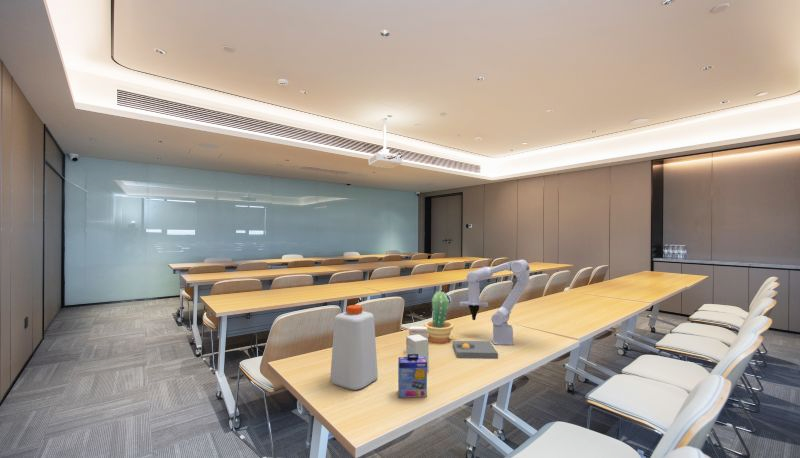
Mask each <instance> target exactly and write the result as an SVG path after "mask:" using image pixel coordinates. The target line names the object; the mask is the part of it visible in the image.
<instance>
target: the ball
mask: <svg viewBox="0 0 800 458" xmlns="http://www.w3.org/2000/svg"><path fill="white" fill-rule="evenodd" d="M462 348H470V346H469V344H467V343H464V344H463V345H462Z"/></svg>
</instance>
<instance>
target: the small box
mask: <svg viewBox="0 0 800 458" xmlns="http://www.w3.org/2000/svg"><path fill="white" fill-rule="evenodd" d="M405 338H406V339H405V340H406V341H405V344H406V347H405V351H406V352H405V354H406V355H405V357H408V354H418V356H425V358H426V360H427V373H428V372H429V339H427V338H425V337H423V336H421V335H419V334H417V335H410V336H409V335H406V337H405ZM409 357H414V355H413V356H409ZM415 357H416V356H415Z"/></svg>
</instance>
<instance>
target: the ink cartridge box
mask: <svg viewBox="0 0 800 458" xmlns="http://www.w3.org/2000/svg"><path fill="white" fill-rule="evenodd" d="M413 355H414V357H409V356H413ZM415 356H416V357H415ZM397 363H398V364H397V367H398V369H397V371H398V372H397V378H398V380H397V381H398V385H397V386H398V398H400V399H401V398H402V399H403V398H427V397H428V393H427V392H428V372H427V360H426V358H425V356H418V354H408V357H406V356H399V357H398V362H397Z"/></svg>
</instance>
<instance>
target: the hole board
mask: <svg viewBox="0 0 800 458" xmlns="http://www.w3.org/2000/svg"><path fill="white" fill-rule="evenodd" d="M464 343H467V344H469V346H470V348H462V345H463V344H464ZM452 348H453V351H454V353H455V357H456V359H498V357H499V354H498V353H499V352H498V351H497V349H496V348H495V347H494V345H493V344H492V343H491V341H489V340H452Z"/></svg>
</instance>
